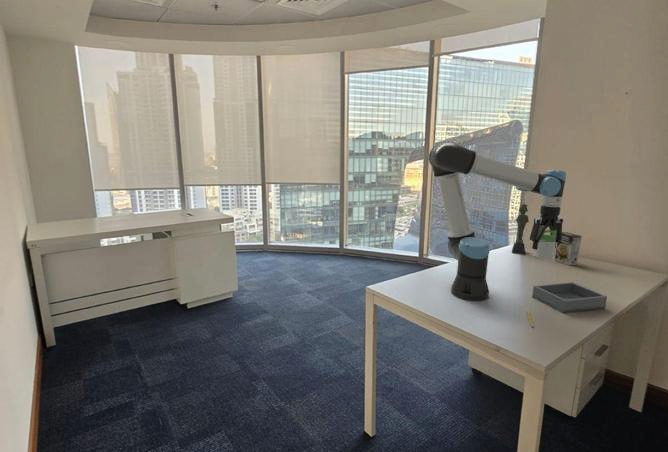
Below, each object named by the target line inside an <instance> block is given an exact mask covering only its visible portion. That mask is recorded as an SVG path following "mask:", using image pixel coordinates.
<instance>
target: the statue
mask: <svg viewBox="0 0 668 452" xmlns="http://www.w3.org/2000/svg"><path fill="white" fill-rule="evenodd" d="M517 211H518V212H520V214H518V215H517V217H516V219H515V221H516V223H517V239H515V242H514V243H513V245H512V248H511V249H512V250H511V253H512V254H517V255H526V247H525V243H524V239H523V237H524V229H525V227H526V225H527V223H529V222H530V219H529V216H528V215H526V213H527V212H529V210H528V204H525V203H523V204H521V205H520V207H519V209H518V210H517Z"/></svg>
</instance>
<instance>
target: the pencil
mask: <svg viewBox="0 0 668 452" xmlns="http://www.w3.org/2000/svg"><path fill="white" fill-rule="evenodd" d="M526 315H527V318H528V319H527V320H528V321H529V325H530V327H531V328H533V329H534V327H535V325H534V323H533V319H532V316H531V314H530V311H529V310H526Z"/></svg>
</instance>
